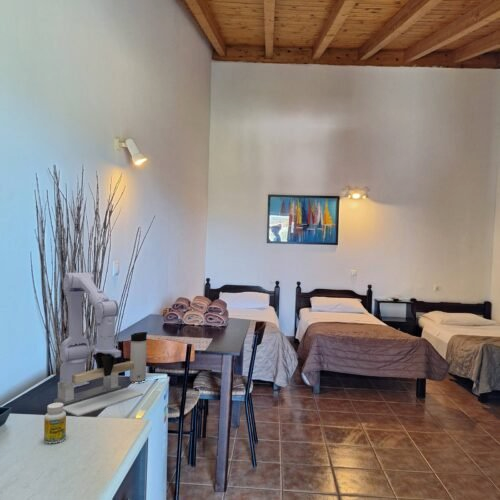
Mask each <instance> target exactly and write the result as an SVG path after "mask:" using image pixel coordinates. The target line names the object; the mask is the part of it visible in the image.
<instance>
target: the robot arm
mask: <svg viewBox="0 0 500 500" xmlns="http://www.w3.org/2000/svg"><path fill="white" fill-rule="evenodd" d="M63 293H64V294H65V295H67V308H68V309H67V313H68V314H67V315H68V316H67V317H68V319H67V321H68V337H67V338H66V339H64V340H63V341H62V342H61V345H60V351H59V356H60V360H61V362H62V363H61V365H60V367H59V382H61V381H65V380H67V381H68V383H72V375H74V374H78V373H82V372H86V362H87V360H88V359H89V357H90V355H91V352H92V353H93V352H94V354H92V357H93V359H94V362H95V363H96V367H97V369H99V368H103V367H104V375H105V376H109V375H111V372H112V369H113V365H115V363H116V361H117V359H118V358H120V357H121V356H122V350H121V349H120V350H119V349H117V348H116V347H115V339H116V338H115V337H116V336H115V335H116V331H115V329H116V317H117V316H118V314H119V309H120V308H119V305H118V301H116V300H115V299H110V298H109V297H108V296H107V294H106V293H105V292H104V291H103V289H99V288H98V287H97V285H96V284H95V276H94V274H93V272H91V271H89V272H66V273H65V275H64V277H63ZM84 294H87V295H88V301H89V303H90V304H91V305H92V307H93V308H94V315H95V321H96V323H97V329H96V330H97V334H96V335H97V336H96V338H97V340H96V344H93V345H90V342H89V340H88V338H86V337H85V336H83V313H82V312H83V309H82V308H83V306H82V304H83V303H82V296H83V295H84ZM85 385H90V382H89V381H86V382H82V383H79V384H75V383H74V389H75V388H77V387H79V388H80V387H81V386H85Z"/></svg>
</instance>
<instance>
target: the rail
mask: <svg viewBox="0 0 500 500" xmlns="http://www.w3.org/2000/svg"><path fill="white" fill-rule="evenodd" d="M132 369H134V362H132V361H130V360H127V361H125V362H120V363H116V364H114V365H113V369H112V372H111V375H113V374H117V373H118V374H119V373H123V372H127V371H130V370H132ZM104 377H105V375H104V367H103V368H99V369H98V368H94V369H92V370H87V371H86V370H85V372H82V373H78V374H74V375H72V383H75V384H79V383H82V382H89V381H93V380H96V379H100V378H104Z"/></svg>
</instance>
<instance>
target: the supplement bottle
mask: <svg viewBox="0 0 500 500" xmlns="http://www.w3.org/2000/svg"><path fill="white" fill-rule="evenodd" d="M46 408H47V409H46V410H47V413H46V414H45V415H44V417H43V418H44V421H43V422H44V425H43V426H44V428H43V431H44V432H43V441H44V443H45V444H47V443H49V444H48V445H52V444H51V443H56V442H60V441H62V440H63V441H64V440H66V433H67V432H66V431H67V430H66V429H67V412H66V411H64V410H63V403H54V402H53V403H50V404H48V405H47V407H46ZM63 441H62V442H63ZM60 443H61V442H60ZM56 444H57V443H56Z"/></svg>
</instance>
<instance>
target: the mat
mask: <svg viewBox="0 0 500 500" xmlns="http://www.w3.org/2000/svg"><path fill="white" fill-rule="evenodd" d="M143 395H144V392H141V391H139V390H135V389H130V388H127V387H124V388H121V389H120V390H117V391H114V392H111V393H107V394H104V395H101V396H97V397H94V398H91V399H87V400H84V401H81V402H78V403H74V404H71V405H68V406H64V407H63V411H65V412H66V413H69V414H71V415H73V416H76V417H81V416H83V415H87V414H90V413H92V412H93V413H94V412H95V411H99V410H101V409H105V408H107V407H111V406H113V405H117V404H119V403H123V402H125V401H128V400H131V399H134V398H138V397H141V396H143Z"/></svg>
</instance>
